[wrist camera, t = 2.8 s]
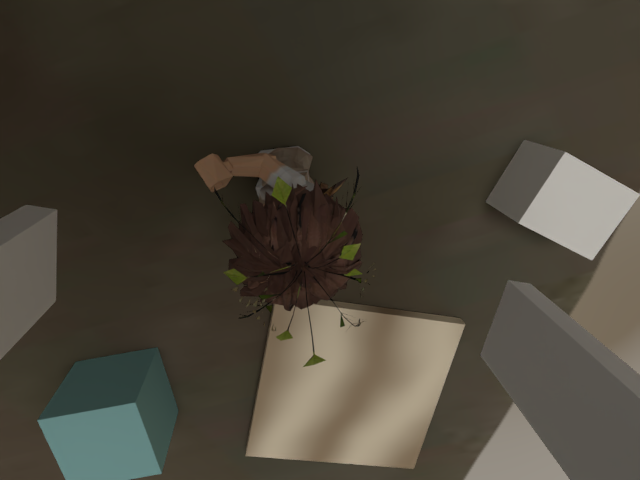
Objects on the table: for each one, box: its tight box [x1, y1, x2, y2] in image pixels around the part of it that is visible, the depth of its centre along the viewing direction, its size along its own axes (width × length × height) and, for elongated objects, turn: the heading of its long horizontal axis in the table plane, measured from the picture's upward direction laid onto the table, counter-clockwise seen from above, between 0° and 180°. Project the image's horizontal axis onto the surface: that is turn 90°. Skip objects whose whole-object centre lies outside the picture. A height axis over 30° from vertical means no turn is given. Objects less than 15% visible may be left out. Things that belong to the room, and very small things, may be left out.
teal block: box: [37, 347, 178, 480], centre depth 27 cm, size 5×5×5 cm
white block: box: [485, 140, 640, 260], centre depth 25 cm, size 5×4×4 cm
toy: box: [194, 146, 376, 367], centre depth 18 cm, size 6×6×15 cm
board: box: [246, 300, 465, 469], centre depth 30 cm, size 12×12×1 cm
